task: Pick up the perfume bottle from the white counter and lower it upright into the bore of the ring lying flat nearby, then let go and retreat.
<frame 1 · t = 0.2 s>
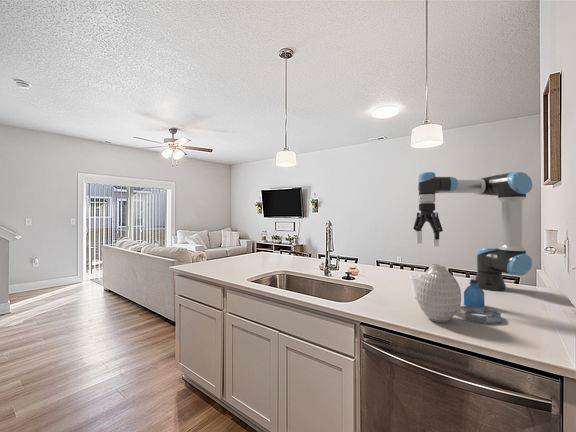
hand: (427, 244, 142), 27 cm above the worktop, fingers open, 13 cm apart
cup: (420, 298, 142), on the worktop
vase: (438, 319, 114), on the worktop
ring: (477, 316, 117), on the worktop
perfume bottle: (474, 305, 131), on the worktop
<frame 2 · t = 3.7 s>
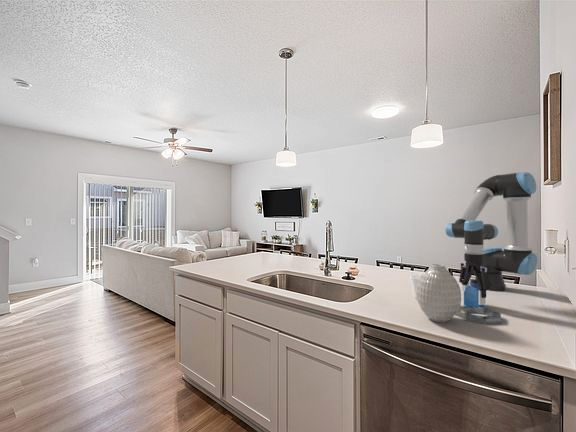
hand: (474, 301, 131), 2 cm above the worktop, fingers closed on perfume bottle, 8 cm apart
perfume bottle: (474, 305, 131), on the worktop, touching gripper
everything else where it was.
when the fingers open (4 cm above the worktop, at t = 8.1 s): perfume bottle drops 2 cm, resting in ring.
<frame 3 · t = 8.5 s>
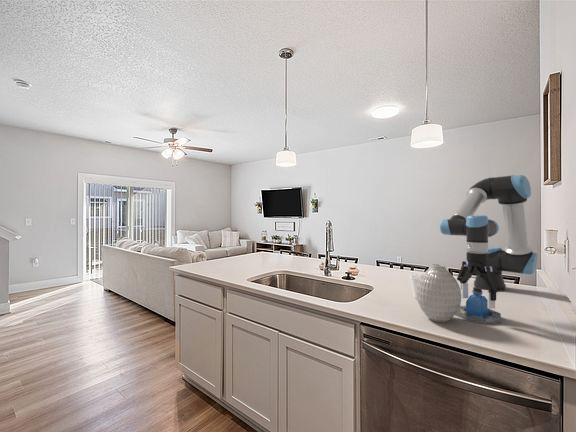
hand: (477, 303, 117), 6 cm above the worktop, fingers open, 13 cm apart
perfume bottle: (477, 317, 117), resting in ring
everything else where it was.
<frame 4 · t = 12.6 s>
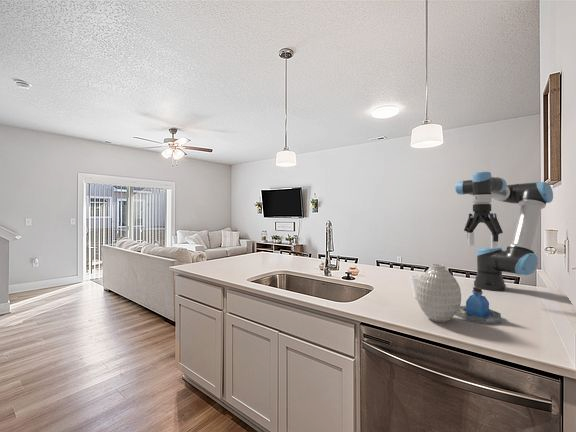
hand: (482, 246, 137), 27 cm above the worktop, fingers open, 13 cm apart
nothing on the worktop moved.
at the end: perfume bottle 0.0 cm from the ring (horizontally); perfume bottle resting in ring; perfume bottle tilted 0° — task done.
